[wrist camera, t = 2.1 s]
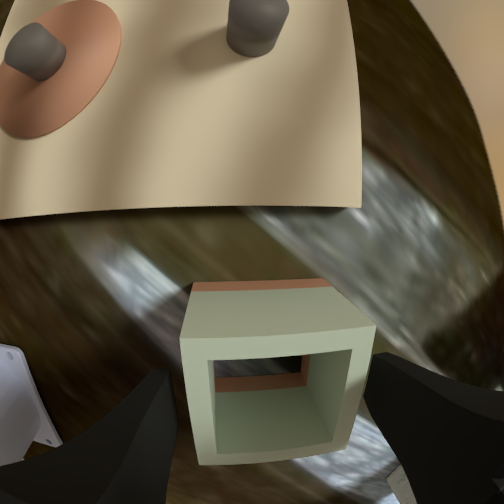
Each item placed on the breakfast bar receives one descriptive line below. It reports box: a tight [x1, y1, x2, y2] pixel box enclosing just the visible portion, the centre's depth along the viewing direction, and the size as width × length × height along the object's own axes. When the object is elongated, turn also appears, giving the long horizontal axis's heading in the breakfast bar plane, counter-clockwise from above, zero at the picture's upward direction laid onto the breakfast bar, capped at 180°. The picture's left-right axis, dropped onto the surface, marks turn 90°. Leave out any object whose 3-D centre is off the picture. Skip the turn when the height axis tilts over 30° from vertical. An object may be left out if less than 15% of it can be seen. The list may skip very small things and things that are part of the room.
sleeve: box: [179, 278, 376, 465], centre depth 11 cm, size 6×6×5 cm
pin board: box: [0, 0, 362, 219], centre depth 8 cm, size 18×14×4 cm
